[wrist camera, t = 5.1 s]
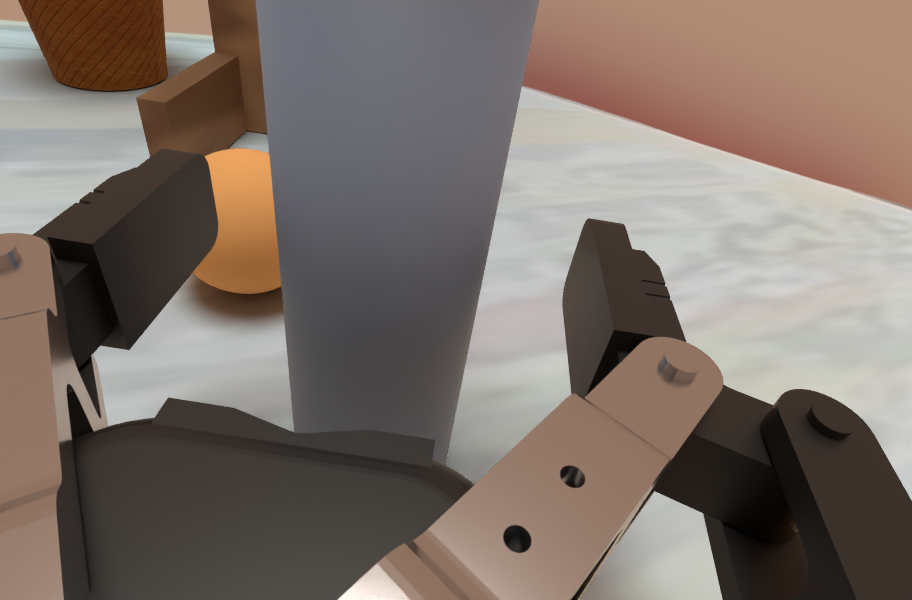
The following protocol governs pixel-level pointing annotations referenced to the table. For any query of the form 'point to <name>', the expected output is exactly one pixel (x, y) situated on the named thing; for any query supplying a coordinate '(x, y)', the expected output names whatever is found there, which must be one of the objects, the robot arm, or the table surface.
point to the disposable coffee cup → (101, 41)
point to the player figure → (386, 196)
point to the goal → (211, 89)
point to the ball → (242, 224)
